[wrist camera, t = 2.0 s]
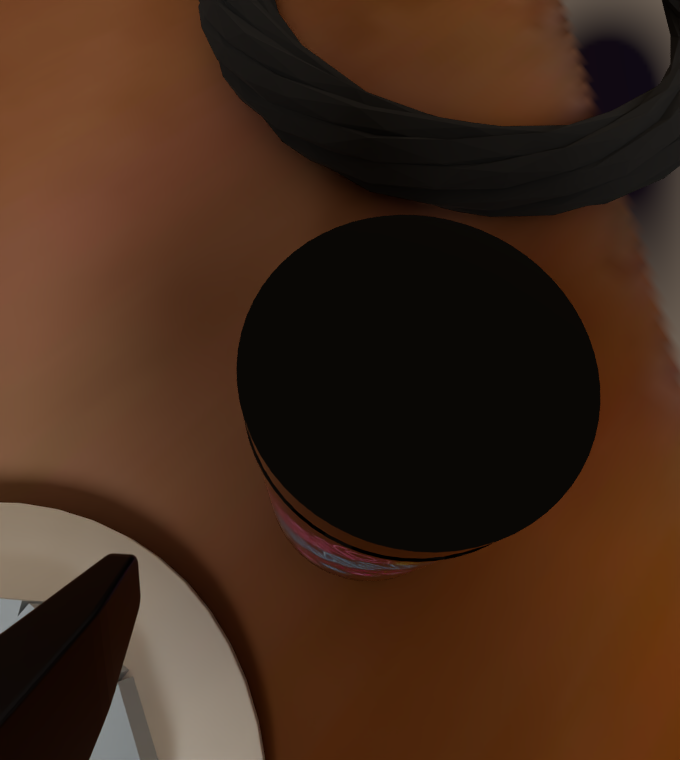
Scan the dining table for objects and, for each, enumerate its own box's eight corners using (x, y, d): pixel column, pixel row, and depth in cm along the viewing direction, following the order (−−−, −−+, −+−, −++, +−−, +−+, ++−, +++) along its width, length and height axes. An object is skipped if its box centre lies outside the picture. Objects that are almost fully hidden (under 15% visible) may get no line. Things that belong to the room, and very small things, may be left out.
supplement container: (255, 409, 21) (213, 235, 11) (432, 380, 22) (534, 195, 12) (284, 603, 18) (263, 593, 9) (482, 561, 19) (660, 511, 10)
